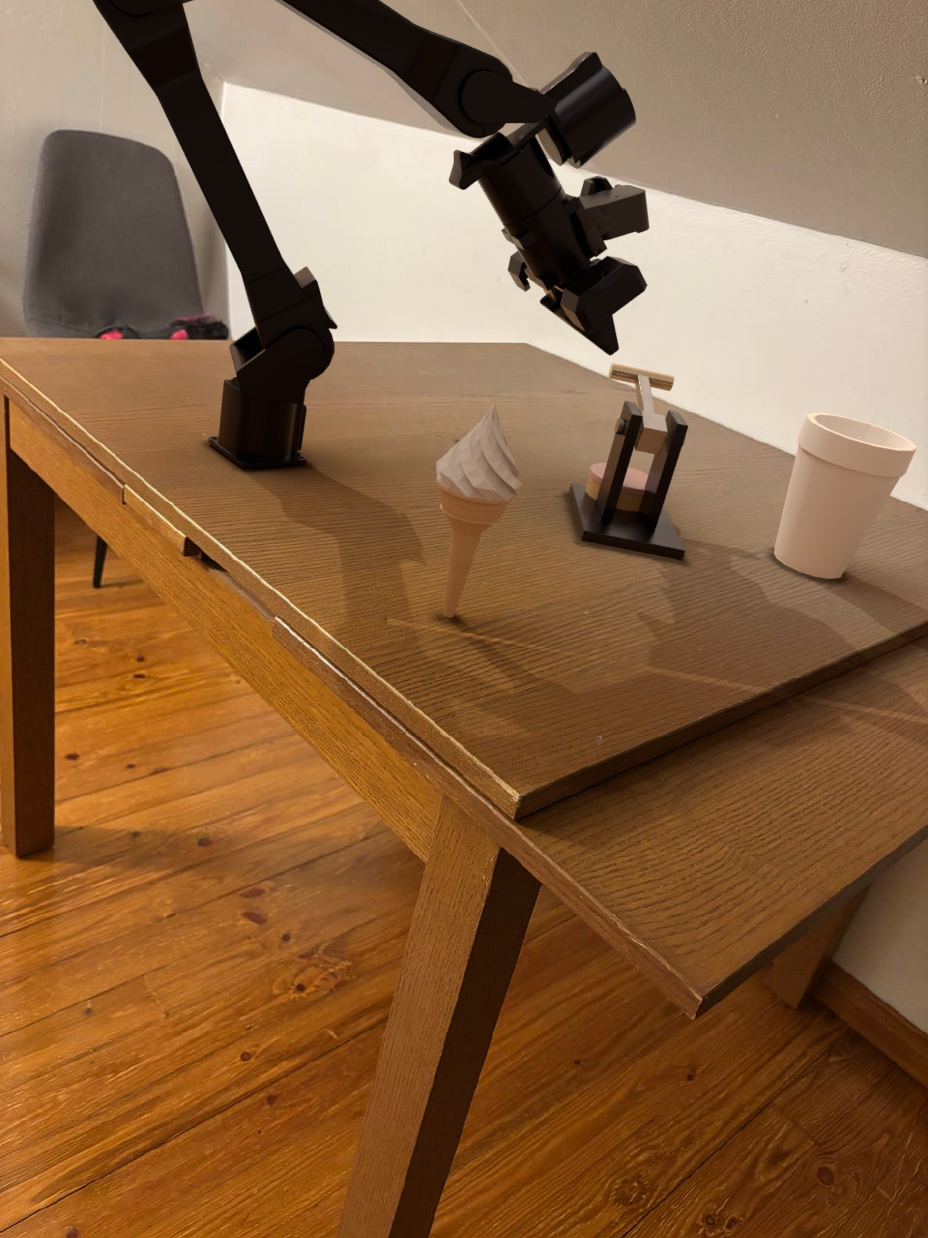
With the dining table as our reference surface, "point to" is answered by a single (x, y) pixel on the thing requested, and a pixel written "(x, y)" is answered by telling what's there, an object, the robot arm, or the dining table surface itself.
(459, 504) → the ice cream cone
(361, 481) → the dining table surface
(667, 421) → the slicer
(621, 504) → the cake
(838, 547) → the foam cup
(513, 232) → the robot arm
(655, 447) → the lever
